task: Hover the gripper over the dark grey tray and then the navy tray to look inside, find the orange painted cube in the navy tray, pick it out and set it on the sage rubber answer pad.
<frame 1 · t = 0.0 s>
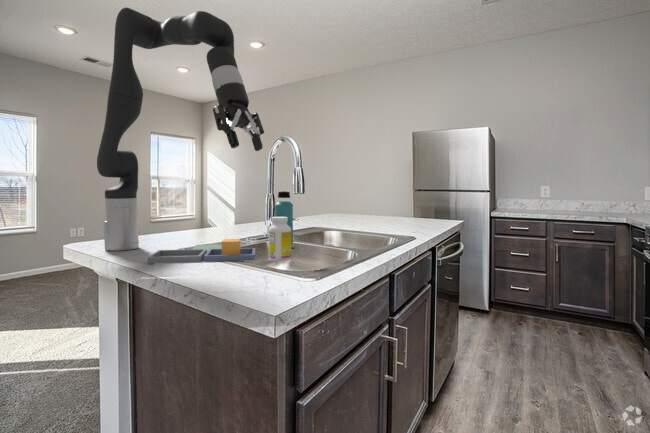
hand: (247, 148, 87), 31 cm above the counter, tool tilted 20°, fingers open, 8 cm apart
supplement bottle: (280, 260, 104), on the counter
answer pad: (211, 250, 117), on the counter
navy tray: (231, 258, 105), on the counter
beverage bottle: (283, 250, 120), on the counter
grey tray: (179, 259, 103), on the counter
orange cube: (231, 256, 105), resting on navy tray
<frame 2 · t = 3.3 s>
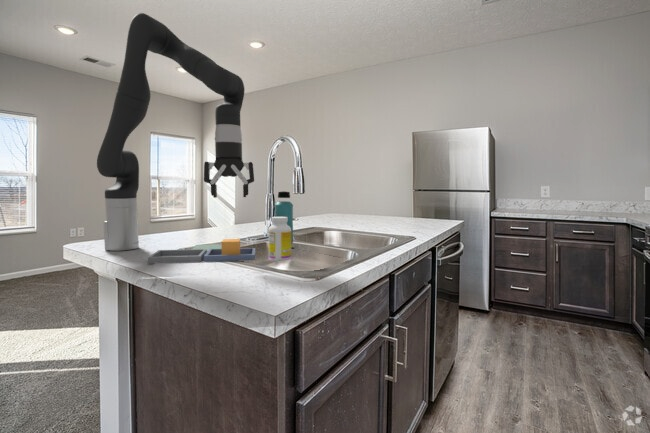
hand: (230, 197, 103), 18 cm above the counter, tool pointing down, fingers open, 8 cm apart
nothing on the counter moved.
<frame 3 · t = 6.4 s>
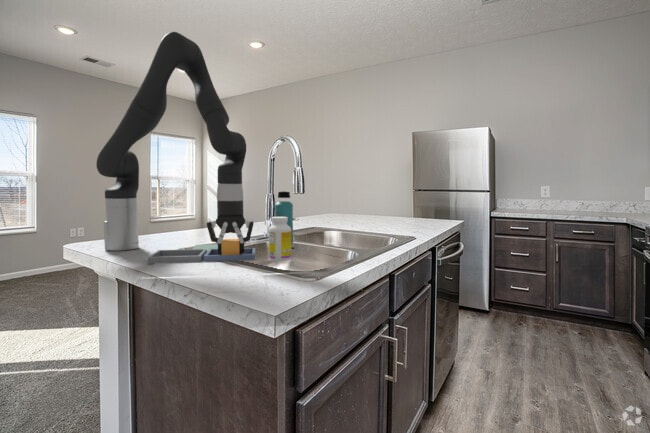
hand: (231, 255, 105), 1 cm above the counter, tool pointing down, fingers closed on orange cube, 5 cm apart
orange cube: (231, 256, 105), point 1 cm above the counter, touching gripper, navy tray
everything else where it was.
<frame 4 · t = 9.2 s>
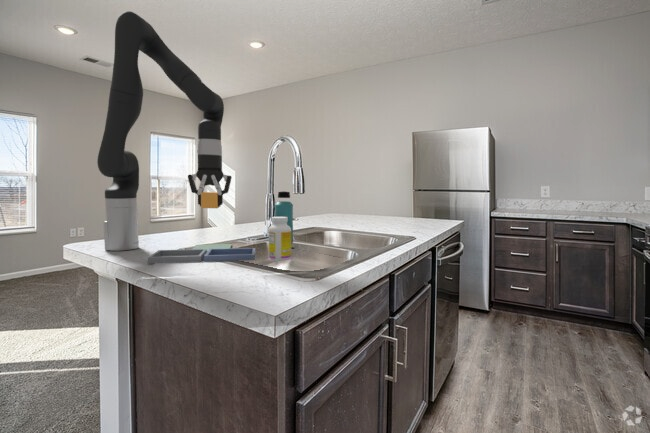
hand: (210, 206, 115), 15 cm above the counter, tool pointing down, fingers closed on orange cube, 5 cm apart
orange cube: (210, 207, 115), point 14 cm above the counter, touching gripper
everything else where it was.
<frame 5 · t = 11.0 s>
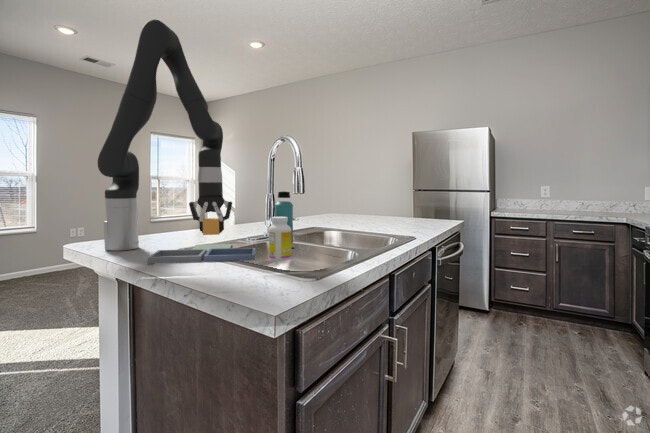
hand: (212, 232, 116), 6 cm above the counter, tool pointing down, fingers closed on orange cube, 5 cm apart
orange cube: (212, 233, 116), point 6 cm above the counter, touching gripper
everything else where it was.
when the fingers open (2 cm above the counter, at t = 12.2 s): orange cube stays where it is, resting on answer pad.
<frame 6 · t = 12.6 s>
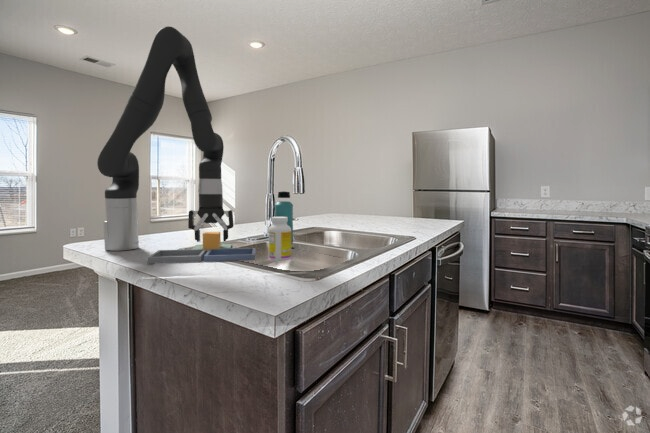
hand: (211, 241, 116), 3 cm above the counter, tool pointing down, fingers open, 8 cm apart
orange cube: (212, 247, 117), point 1 cm above the counter, touching answer pad
everything else where it was.
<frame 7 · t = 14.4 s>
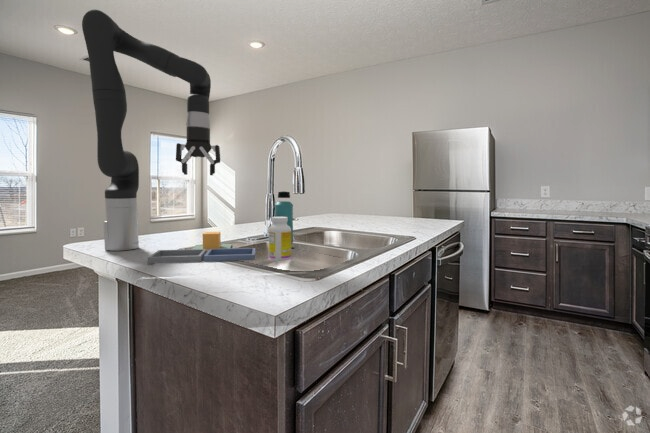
hand: (198, 175, 120), 25 cm above the counter, tool pointing down, fingers open, 8 cm apart
nothing on the counter moved.
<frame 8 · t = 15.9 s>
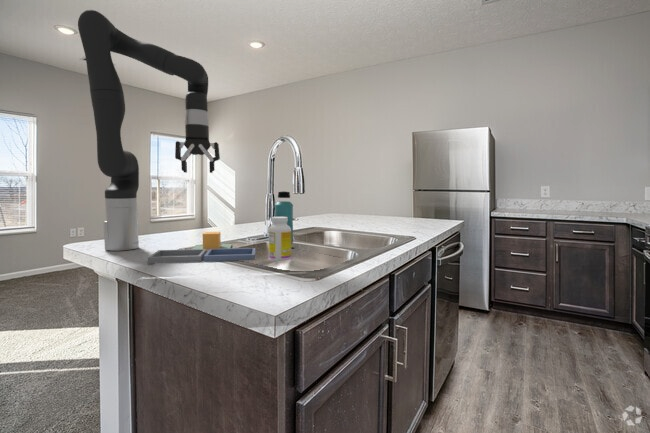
hand: (198, 172, 120), 26 cm above the counter, tool pointing down, fingers open, 8 cm apart
nothing on the counter moved.
at the end: orange cube inside the target area on the answer pad (0.0 cm from its centre), point 1.0 cm above the answer pad's base; orange cube touching answer pad; the gripper is holding nothing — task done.
